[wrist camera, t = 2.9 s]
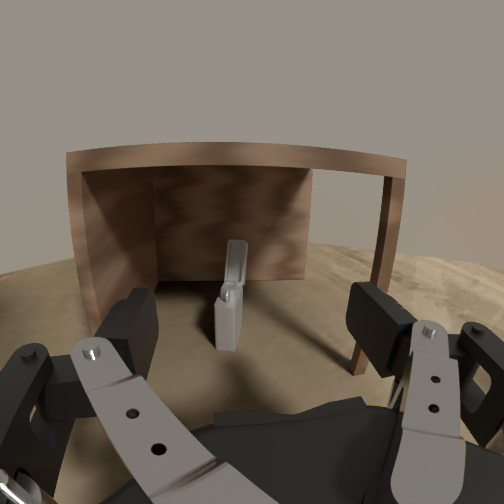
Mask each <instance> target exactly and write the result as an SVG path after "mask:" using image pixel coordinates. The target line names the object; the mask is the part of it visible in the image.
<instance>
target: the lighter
mask: <svg viewBox="0 0 504 504" xmlns="http://www.w3.org/2000/svg"><path fill="white" fill-rule="evenodd" d="M247 253H248V243H247V242H246V241H245V240H233V239H230V240H229V241H228V245H227V256H226V267H225V279H224V283H223V285H222V287H221V292H220V294H219V296H218V298H217V300H216V302H215V304H214V321H215V347H216V349H217V350H222V351H230V352H234V351H236V348H237V344H238V340H239V337H240V333H241V329H242V304H243V287H242V286H244V285H245V278H246V265H247Z"/></svg>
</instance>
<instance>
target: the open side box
mask: <svg viewBox="0 0 504 504" xmlns="http://www.w3.org/2000/svg"><path fill="white" fill-rule="evenodd" d="M406 162H407V161H406V160H405V159H399V158H393V157H388V156H382V155H375V154H369V153H362V152H355V151H347V150H338V149H330V148H321V147H309V146H298V145H284V144H268V143H267V144H266V143H242V142H185V143H184V142H183V143H159V144H142V145H129V146H118V147H107V148H98V149H90V150H83V151H75V152H68V153H66V165H67V166H66V167H67V190H68V205H69V216H70V225H71V233H72V242H73V249H74V256H75V262H76V268H77V273H78V279H79V284H80V289H81V293H82V298H83V302H84V307H85V311H86V315H87V319H88V323H89V327H90V330H91V334H92V337H94V335H95V333H96V332H97V330H98V328H99V327H100V325H101V323H102V322H103V320H104V318H105V317H106V315H107V314H108V312H109V310H110V309H111V307H112V306H113V305H114V304H116V303H117V302H118V301H120V300H121V299H125V300H126V299H127V298H128V296H129V294H130V293H131V291H132V289H133V288H153V291H155V288H156V286H157V284H158V281H224V279H225V267H226V256H227V245H228V241H229V240H230V239H233V240H245V241H246V242H247V243H248V253H247V265H246V278H245V280H292V279H304V272H305V263H306V252H307V242H308V230H309V218H310V204H311V190H312V173H313V169H325V170H336V171H346V172H356V173H366V174H373V175H381V176H384V186H383V196H382V205H381V214H380V223H379V230H378V237H377V244H376V250H375V256H374V262H373V267H372V273H371V278H370V282H372V283H373V284H374V285H375V286H377V287H378V288H379V289H380V290H381V291H382V292H383V293H385V294H387V292H388V287H389V283H390V278H391V273H392V268H393V263H394V258H395V252H396V246H397V240H398V234H399V228H400V221H401V213H402V205H403V197H404V187H405V176H406ZM368 361H369V359H368V358H367V356H366V355H365V353H364V352H363V350H362V349H361V348H360V346H359V345H358V343H357V342H356V345H355V348H354V352H353V356H352V359H351V363H350V366H349V369H350V370H351V372H352V374H353V376H354V375H360V374H364V373H365V370H366V367H367V364H368Z"/></svg>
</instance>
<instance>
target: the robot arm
mask: <svg viewBox="0 0 504 504" xmlns="http://www.w3.org/2000/svg"><path fill="white" fill-rule="evenodd" d="M346 325H347V328H348V330H349V332H350V333H351V335H352V336H353V337H354V339H355V340H356V342H357V343H358V345H359V346H360V348H361V349H362V350H363V352H364V353H365V355H366V356H367V358H368V359H369V361H370V362H371V363H372V365H373V366H374V368H375V369H376V371H377V372H378V374H379V375H380V377H381V378H385V377H389V376H393V375H394V376H395V378H394V381H393V384H392V387H391V391H390V395H389V399H388V403H387V407H386V408H385V407H380V406H366V404H365V402H364V400H363V399H362V397H361V396H359V397H354V398H349V399H344V400H339V401H333V402H328V403H326V404H323V405H320V406H318V407H315V408H312V409H310V410H307V411H304V412H301V413H298V414H294V415H289V414H276V413H266V412H257V411H246V412H222V413H214V421H215V423H214V424H209V425H206V426H202V427H199V428H197V429H194V430H192V431H190V432H189V431H188V430H187V429H186V427H185V426H184V425H183V424H182V423H181V422H180V421H179V420H178V419H177V418H176V417H175V415H174V414H173V413H172V412H171V411H170V410H169V409H168V407H167V406H166V405H165V404H164V403H163V402H162V400H161V399H160V398H159V397H158V396H157V394H156V393H155V392H154V391H153V390H152V388H151V387H150V386H149V385H148V383H147V382H146V379H147V376H148V372H149V368H150V364H151V361H152V357H153V353H154V350H155V346H156V343H157V339H158V333H159V327H158V318H157V311H156V304H155V296H154V291H153V288H133V289H132V291H131V293H130V294H129V296H128V298H127V299H126V300H125V299H121V300H120V301H118V302H117V303H116V304H114V305H113V306H112V307H111V309H110V310H109V312H108V314H107V315H106V317H105V318H104V320H103V322H102V323H101V325H100V327H99V328H98V330H97V332H96V333H95V335H94V337H90V338H85V339H83V340H81V341H79V342H77V343H76V344H75V345H74V346H73V347H72V348H71V351H70V355H62V356H53V357H50V356H49V353H48V351H47V348H46V347H45V346H44V345H42V344H38V343H31V344H27V345H24V346H22V347H20V348H19V349H17V350H16V351H15V352H14V353H13V355H12V356H11V358H10V359H9V360H8V362H7V363H6V365H5V366H4V368H3V369H2V371H1V372H0V504H58V503H57V502H56V501H55V500H54V499H53V497H54V493H55V488H56V484H57V480H58V476H59V472H60V468H61V464H62V461H63V457H64V454H65V450H66V447H67V443H68V440H69V437H70V433H71V430H72V427H73V424H74V421H75V418H85V417H95V416H97V418H98V420H99V422H100V424H101V426H102V428H103V430H104V432H105V433H106V435H107V437H108V439H109V441H110V442H111V444H112V446H113V447H114V449H115V451H116V452H117V454H118V456H119V457H120V459H121V461H122V462H123V464H124V465H125V467H126V468H127V470H128V472H129V473H130V475H131V476H132V479H130V480H129V481H128V482H127V483H125V484H124V485H123V486H122V487H120V488H119V489H118V490H117V491H115V492H114V493H113V494H112V495H110V496H109V497H108V498H106V499H105V500H104V501H102V502H101V503H100V504H504V342H503V341H502V340H501V339H500V338H499V337H498V336H496V335H495V334H494V333H493V332H492V331H491V330H489V329H488V328H487V327H486V326H484V325H482V324H480V323H476V322H466V323H464V324H463V326H462V329H461V332H460V334H447V331H446V329H445V328H444V327H443V326H441V325H440V324H438V323H435V322H432V321H428V320H421V321H418V320H417V319H416V318H414V317H413V316H412V315H411V314H410V313H409V312H408V311H407V310H406V309H405V308H404V309H403V307H402V306H401V305H400V304H398V302H397V301H396V300H395V299H394V298H392V297H391V296H389V295H387V294H385V293H383V292H382V291H381V290H380V289H379V288H378V287H377V286H375V285H374V284H373V283H372V282H370V281H368V282H354V283H353V284H352V286H351V290H350V296H349V302H348V307H347V313H346ZM479 365H481V366H482V367H483V369H484V370H485V371H486V372H487V373H488V374H489V375H490V377H491V387H490V389H489V391H488V393H487V394H486V395H485V393H484V392H483V391H482V390H481V389H480V387H479V386H478V385H477V384H476V383H475V381H474V380H473V377H474V375H475V373H476V371H477V369H478V367H479ZM34 405H35V407H36V411H35V413H34V415H33V417H32V419H31V422H30V414H31V411H32V409H33V407H34ZM460 418H461V419H462V421H463V422H464V424H465V425H466V427H467V428H468V430H469V431H470V433H471V434H472V436H473V437H474V439H475V440H476V442H477V443H478V445H479V446H478V445H475V444H473V443H470V442H468V441H465V440H464V438H462V437H461V436H460Z"/></svg>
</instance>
